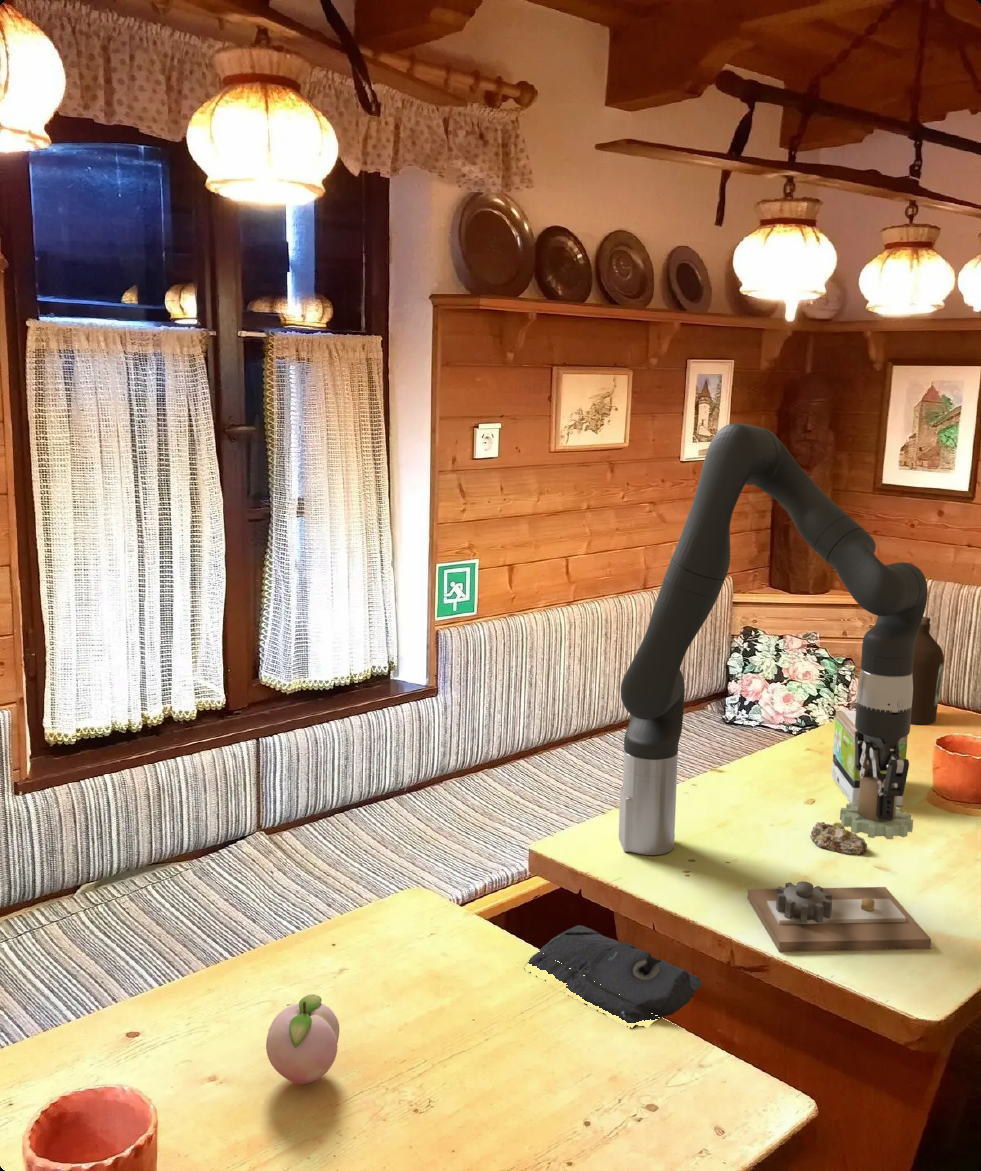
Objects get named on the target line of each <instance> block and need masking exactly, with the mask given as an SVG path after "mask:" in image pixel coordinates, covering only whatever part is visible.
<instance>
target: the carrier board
mask: <svg viewBox="0 0 981 1171" xmlns="http://www.w3.org/2000/svg"><path fill="white" fill-rule="evenodd" d="M784 886H785V887H783V886H778V887H777V888H749V889H748V888H747V897H746V898H747V900H748V902H749V903H750V905H751V907H752V908H753V910H754V912H755V913H756V915H757V917H758V919H759V921H760V922H761V924H762V926H763V927H764V929H765V930H766V932H767V934H768V936H769V937H770V939H771V941H772V942H773V944H774V946H775V947H776V949H777V951H778V953H781V952H784V953H785V952H786V953H787V952H826V951H827V952H829V951H831V952H832V951H833V952H834V951H836V952H837V951H840V952H841V951H883V950H884V951H885V950H888V951H889V950H890V951H891V950H931V943H932V938H931V937H930V936H929V935H928V934H927V933H926V931H925V930H924V929H923V928H922V927H921V925H920V924H918V923H917V921H916V920H915V919H914V918H913V916H911V914H909V912H908V911H907V909H905V908H904V906H903V905H902V904H901V903H900V902H899V900H898V899H897V898H896V897H895V896H894V895H893V894H892V893H891V892H890V890H889V889H888V888H887V886H869V887H868V886H866V887H865V886H864V887H863V886H862V887H821V886H820V885H816V886H814V884H812V883H811V882H808V881H803V880H802V881H798V882H796V884H793V883H792V882H786V883H785V885H784Z"/></svg>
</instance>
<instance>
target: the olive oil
mask: <svg viewBox="0 0 981 1171" xmlns="http://www.w3.org/2000/svg"><path fill="white" fill-rule="evenodd" d="M930 622H931V618H930V617H928V616H923V619H922V622H921V625H920V629H919V632H918V634H917V637H916V640H915V643H914V659H913V672H912V679H913V697H912V710H911V723H910V725H911V724H912V725H920V726H924V725H932V724H934V723H936V720H937V715H938V714H937V712H938V705H939V698H940V692H941V683H942V677H943V671H944V664H945V656H944V652H943V649H942V647H941V645H939V643H938V642H937V641H936V640H935V639H934V638H933V637H932V635H931V633H930V632H931V631H930V630H931V623H930Z"/></svg>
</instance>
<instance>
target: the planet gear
mask: <svg viewBox="0 0 981 1171" xmlns="http://www.w3.org/2000/svg"><path fill="white" fill-rule="evenodd" d="M884 785H885V779H884ZM897 787H898V784H897ZM877 797H878V785H877V780H876V779H875V778H874V777H873V776H868V777H863V778H861V779H860V789H859V804H855V805H854V804H852V803H851V802H848V803H845V804H846V805H845V807H841V808H840V812H839V814H840V815H839V821H840V823H841V825H842V826H843V827H844V828H849V827H850V832H852V833H855V834H856V835H857V834H859V833H862V834H866V835H867V838H870V839H875V837H883V838H885V839H886V840H894V837H898V836H899V837H901V838H906V837H908V834H909V833H913V829H914V819H912V814H910V812H902V811H901V809H902V808H901V807H898V806H896V801H897V796H895V797H894V810H893V818H892V819H891V820H879V819H878V818H877V817H876V811H877Z"/></svg>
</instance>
